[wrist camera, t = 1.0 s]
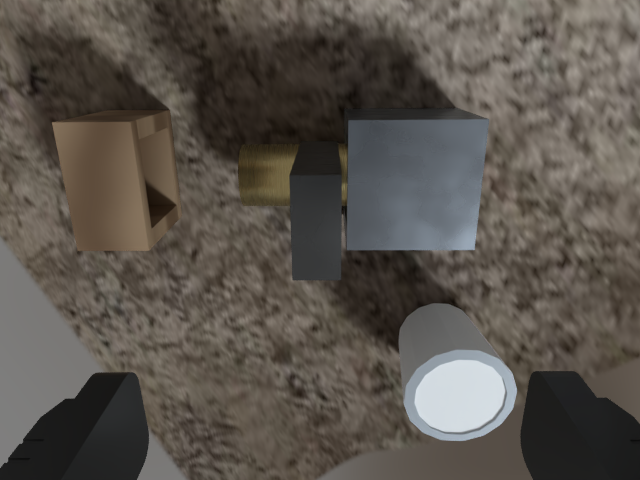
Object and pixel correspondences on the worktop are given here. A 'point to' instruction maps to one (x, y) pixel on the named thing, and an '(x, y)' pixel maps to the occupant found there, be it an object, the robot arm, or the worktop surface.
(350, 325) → the worktop surface
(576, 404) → the robot arm
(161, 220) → the socket block
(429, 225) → the block
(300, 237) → the slide bolt
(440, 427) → the shot glass
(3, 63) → the worktop surface
